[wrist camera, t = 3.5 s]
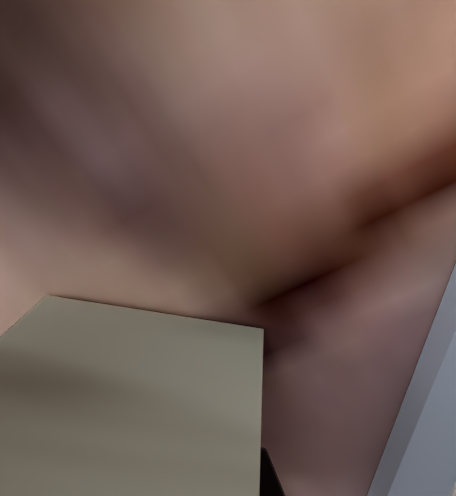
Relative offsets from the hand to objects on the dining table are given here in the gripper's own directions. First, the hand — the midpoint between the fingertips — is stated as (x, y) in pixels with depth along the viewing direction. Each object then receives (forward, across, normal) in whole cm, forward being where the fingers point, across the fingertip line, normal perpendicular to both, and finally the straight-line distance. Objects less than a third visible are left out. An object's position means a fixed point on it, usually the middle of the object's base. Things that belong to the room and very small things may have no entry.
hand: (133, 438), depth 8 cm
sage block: (+1, 0, 0) cm, 1 cm away
